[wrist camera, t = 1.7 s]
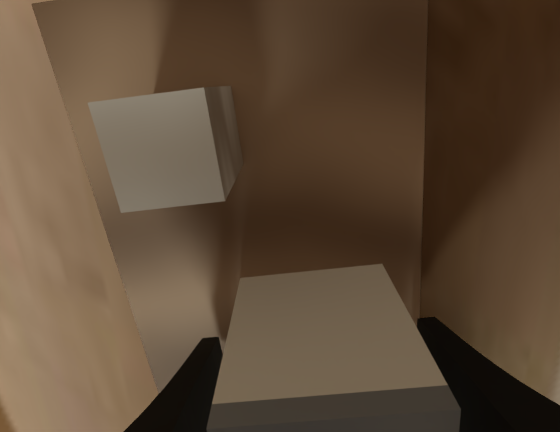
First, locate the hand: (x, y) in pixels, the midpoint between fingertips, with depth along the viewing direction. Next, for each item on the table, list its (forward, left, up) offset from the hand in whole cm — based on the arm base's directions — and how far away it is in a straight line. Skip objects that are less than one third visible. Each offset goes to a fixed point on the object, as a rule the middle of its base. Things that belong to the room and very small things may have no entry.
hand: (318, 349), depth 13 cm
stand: (+2, +4, -2) cm, 5 cm away
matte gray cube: (0, 0, -1) cm, 1 cm away
